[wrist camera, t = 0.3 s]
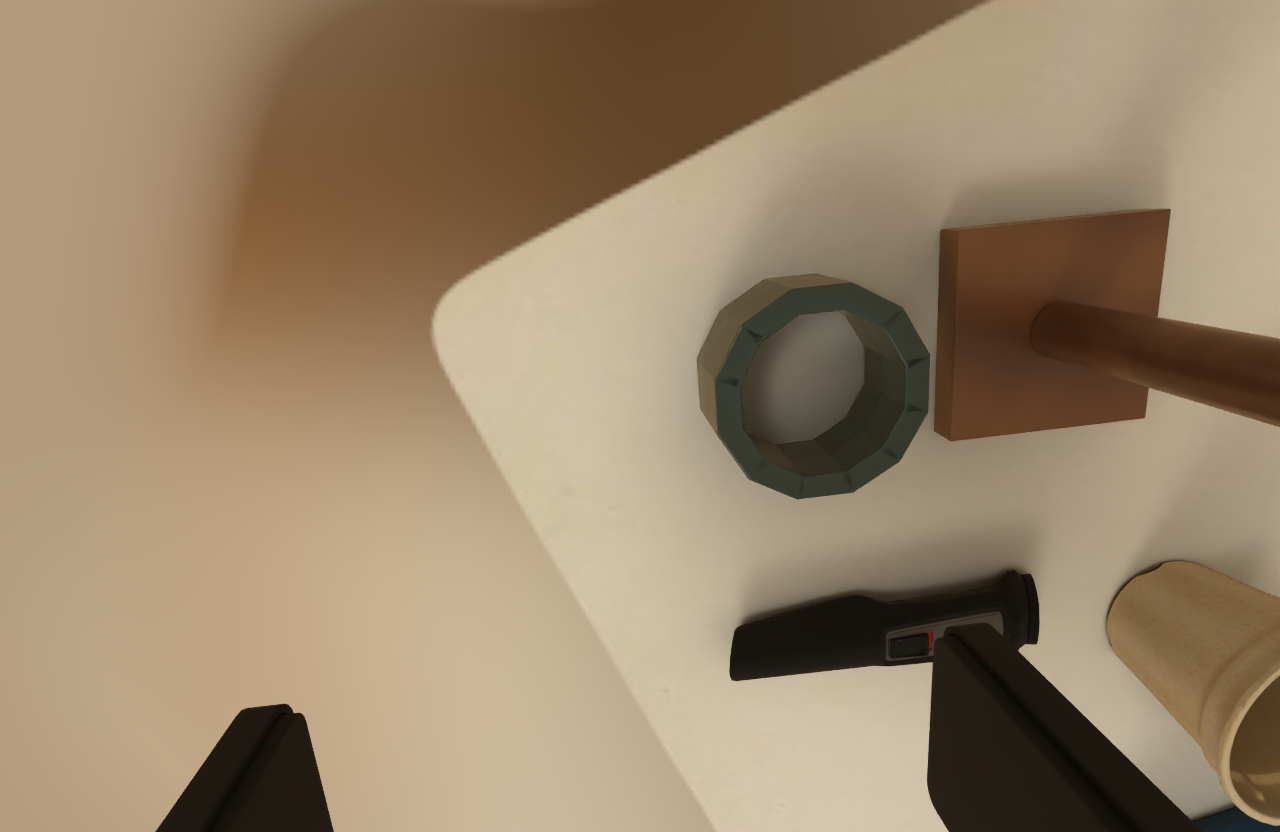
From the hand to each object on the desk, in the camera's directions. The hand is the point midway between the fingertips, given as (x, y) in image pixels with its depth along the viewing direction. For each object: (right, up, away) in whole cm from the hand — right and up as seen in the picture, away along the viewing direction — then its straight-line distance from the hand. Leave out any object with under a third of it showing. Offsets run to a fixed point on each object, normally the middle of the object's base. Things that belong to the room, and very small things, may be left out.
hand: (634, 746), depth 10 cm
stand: (+18, +9, +20) cm, 28 cm away
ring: (+7, +7, +20) cm, 22 cm away
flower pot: (+27, -5, +26) cm, 38 cm away
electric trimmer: (+12, -5, +24) cm, 28 cm away
